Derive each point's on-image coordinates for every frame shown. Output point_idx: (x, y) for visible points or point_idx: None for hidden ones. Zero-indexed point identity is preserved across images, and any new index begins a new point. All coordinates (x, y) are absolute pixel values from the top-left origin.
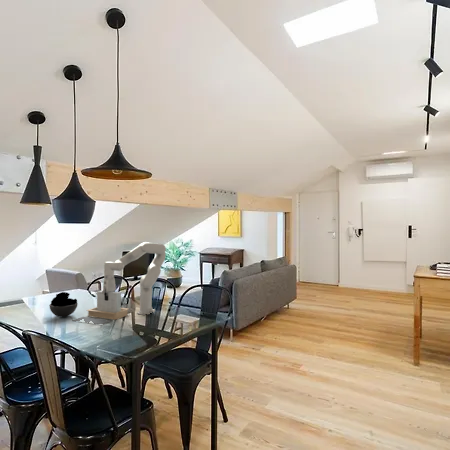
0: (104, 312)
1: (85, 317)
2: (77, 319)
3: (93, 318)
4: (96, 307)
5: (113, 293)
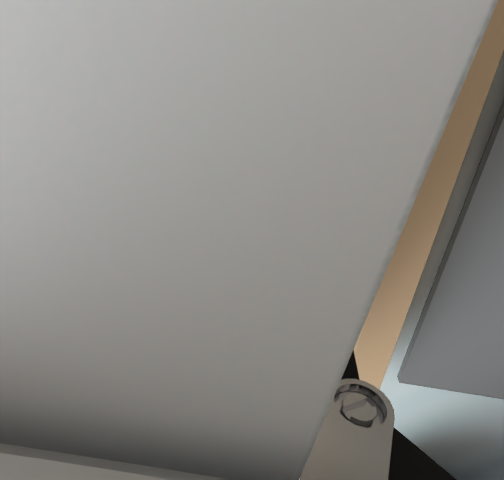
0: (458, 152)
1: (426, 351)
2: None
3: (461, 255)
4: None
5: (441, 95)
